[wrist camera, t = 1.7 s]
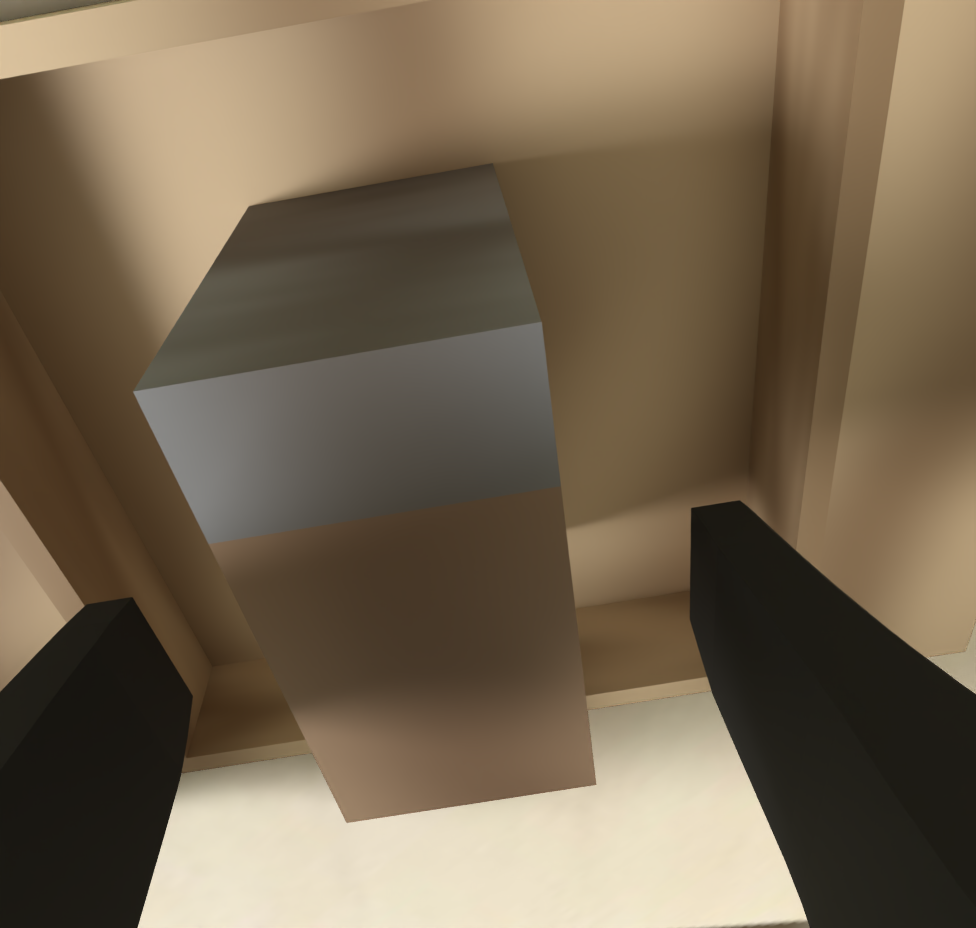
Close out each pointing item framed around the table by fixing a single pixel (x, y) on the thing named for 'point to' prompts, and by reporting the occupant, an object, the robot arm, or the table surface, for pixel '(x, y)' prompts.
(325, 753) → the brown rectangular block
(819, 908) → the robot arm
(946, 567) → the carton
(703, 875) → the table surface
